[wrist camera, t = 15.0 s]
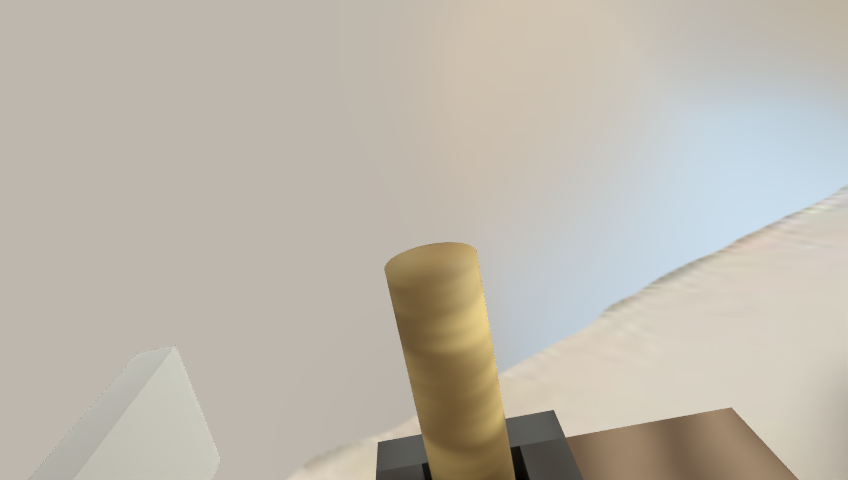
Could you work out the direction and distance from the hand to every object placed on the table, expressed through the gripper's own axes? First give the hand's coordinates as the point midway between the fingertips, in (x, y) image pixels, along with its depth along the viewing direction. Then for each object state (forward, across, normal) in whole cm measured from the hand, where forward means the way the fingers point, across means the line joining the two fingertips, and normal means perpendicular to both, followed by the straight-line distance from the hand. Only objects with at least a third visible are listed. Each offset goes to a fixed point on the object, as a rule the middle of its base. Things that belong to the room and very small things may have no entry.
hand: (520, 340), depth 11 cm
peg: (+13, -2, -19) cm, 23 cm away
